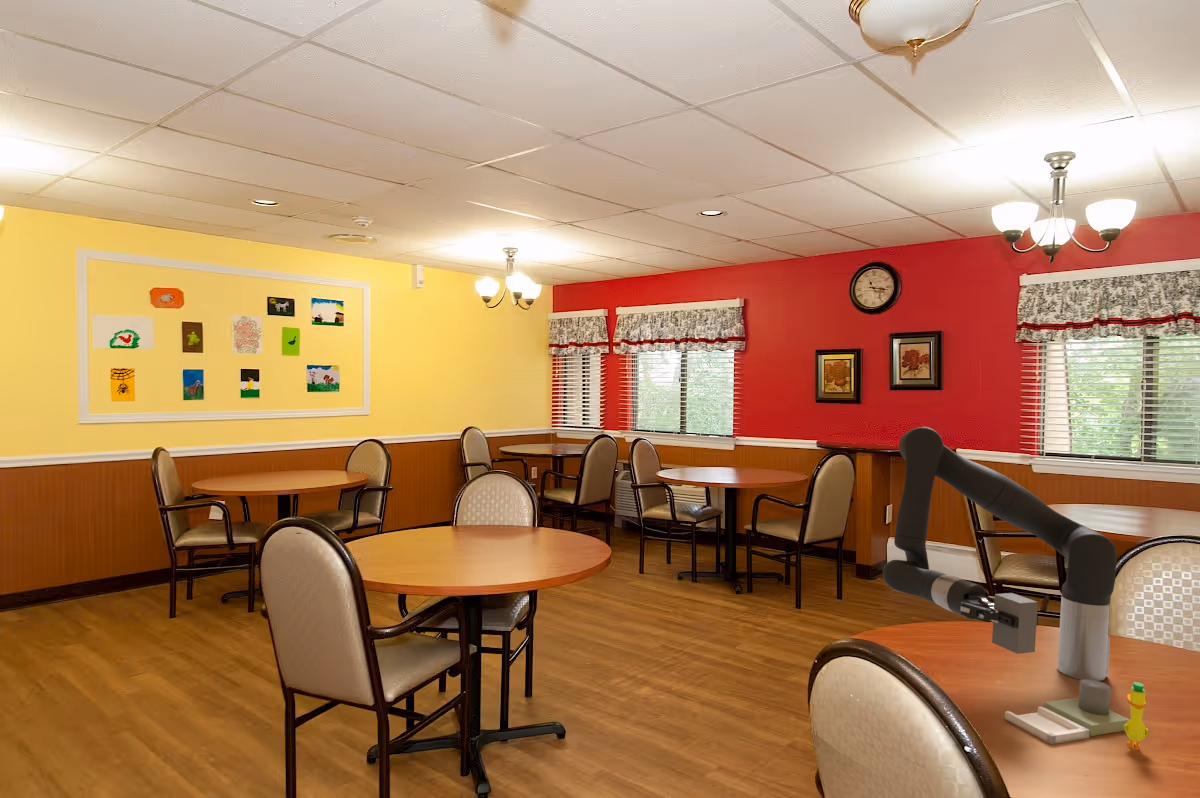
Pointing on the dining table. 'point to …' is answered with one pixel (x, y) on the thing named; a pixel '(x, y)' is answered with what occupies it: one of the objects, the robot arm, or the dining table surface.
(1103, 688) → the cylinder and block set
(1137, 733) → the toy figure
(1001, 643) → the gray rectangular block
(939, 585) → the robot arm
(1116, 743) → the dining table surface
